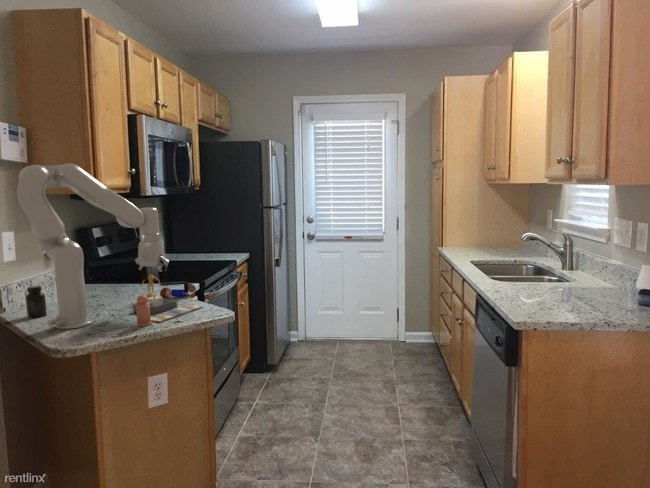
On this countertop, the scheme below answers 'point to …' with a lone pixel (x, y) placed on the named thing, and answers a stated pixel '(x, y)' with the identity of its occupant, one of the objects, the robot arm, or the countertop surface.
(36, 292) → the supplement bottle
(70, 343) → the countertop surface
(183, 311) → the track
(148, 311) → the pink cylinder
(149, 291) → the figurine
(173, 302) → the tray
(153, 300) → the die
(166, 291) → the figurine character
